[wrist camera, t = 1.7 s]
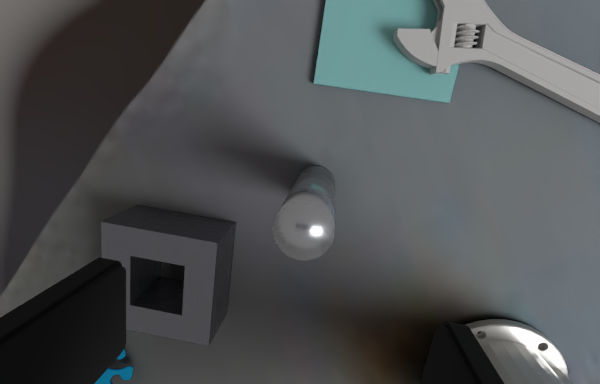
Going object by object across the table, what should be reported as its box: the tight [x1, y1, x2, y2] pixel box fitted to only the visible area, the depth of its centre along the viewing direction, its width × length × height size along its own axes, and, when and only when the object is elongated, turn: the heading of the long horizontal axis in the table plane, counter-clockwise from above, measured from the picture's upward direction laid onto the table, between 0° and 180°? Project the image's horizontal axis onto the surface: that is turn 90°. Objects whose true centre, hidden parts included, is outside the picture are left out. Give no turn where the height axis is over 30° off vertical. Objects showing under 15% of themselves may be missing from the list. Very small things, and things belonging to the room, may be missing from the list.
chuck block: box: [101, 205, 236, 346], centre depth 30 cm, size 10×10×5 cm
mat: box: [314, 0, 459, 103], centre depth 25 cm, size 11×11×1 cm
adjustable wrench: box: [393, 0, 600, 123], centre depth 24 cm, size 25×6×2 cm, turn 61°
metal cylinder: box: [272, 166, 335, 261], centre depth 23 cm, size 3×3×12 cm
